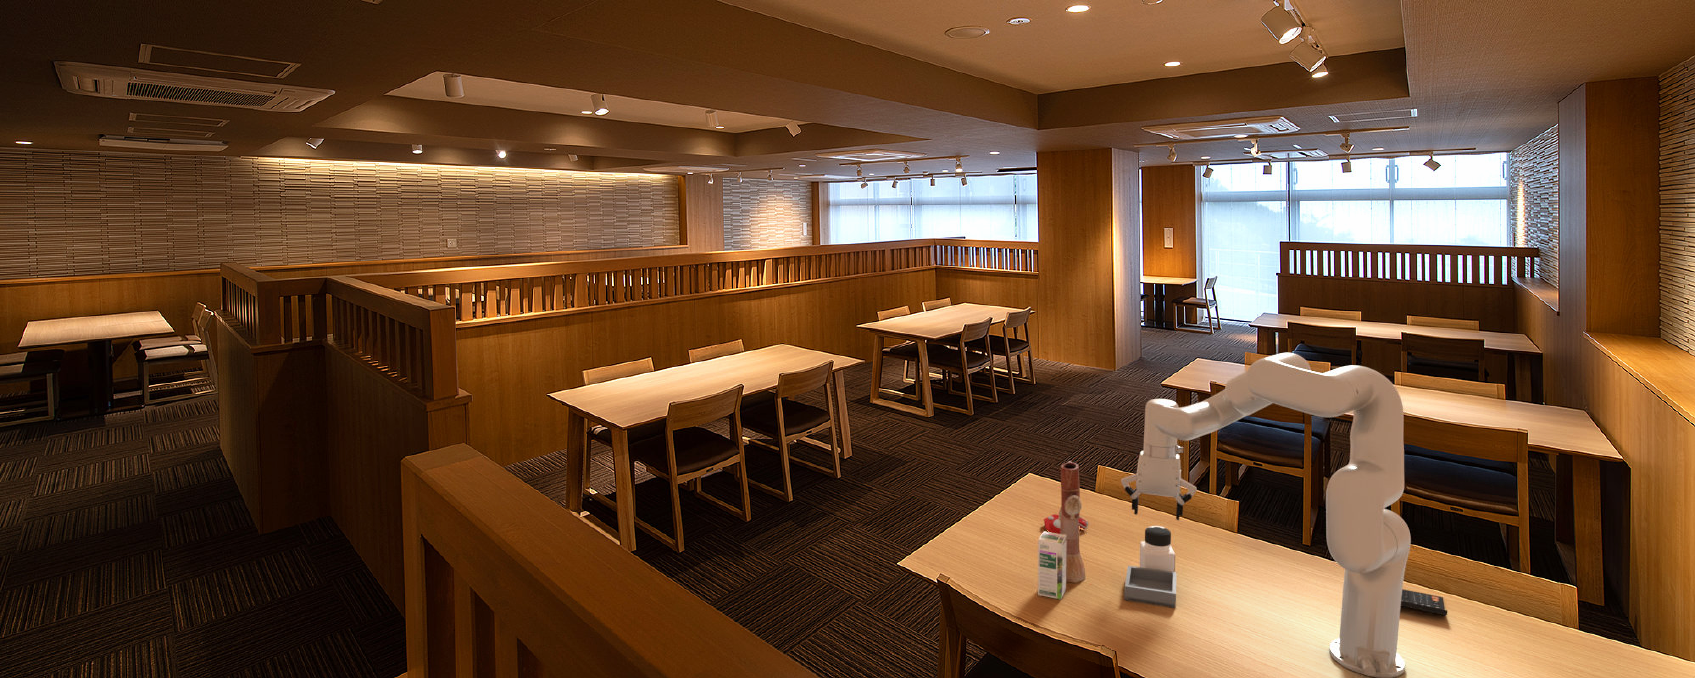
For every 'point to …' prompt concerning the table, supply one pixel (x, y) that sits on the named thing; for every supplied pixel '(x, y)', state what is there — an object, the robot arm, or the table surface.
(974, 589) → the table surface
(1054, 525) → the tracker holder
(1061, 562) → the syrup box
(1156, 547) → the medicine bottle
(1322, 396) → the robot arm
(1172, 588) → the bin
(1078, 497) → the vase
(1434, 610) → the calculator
